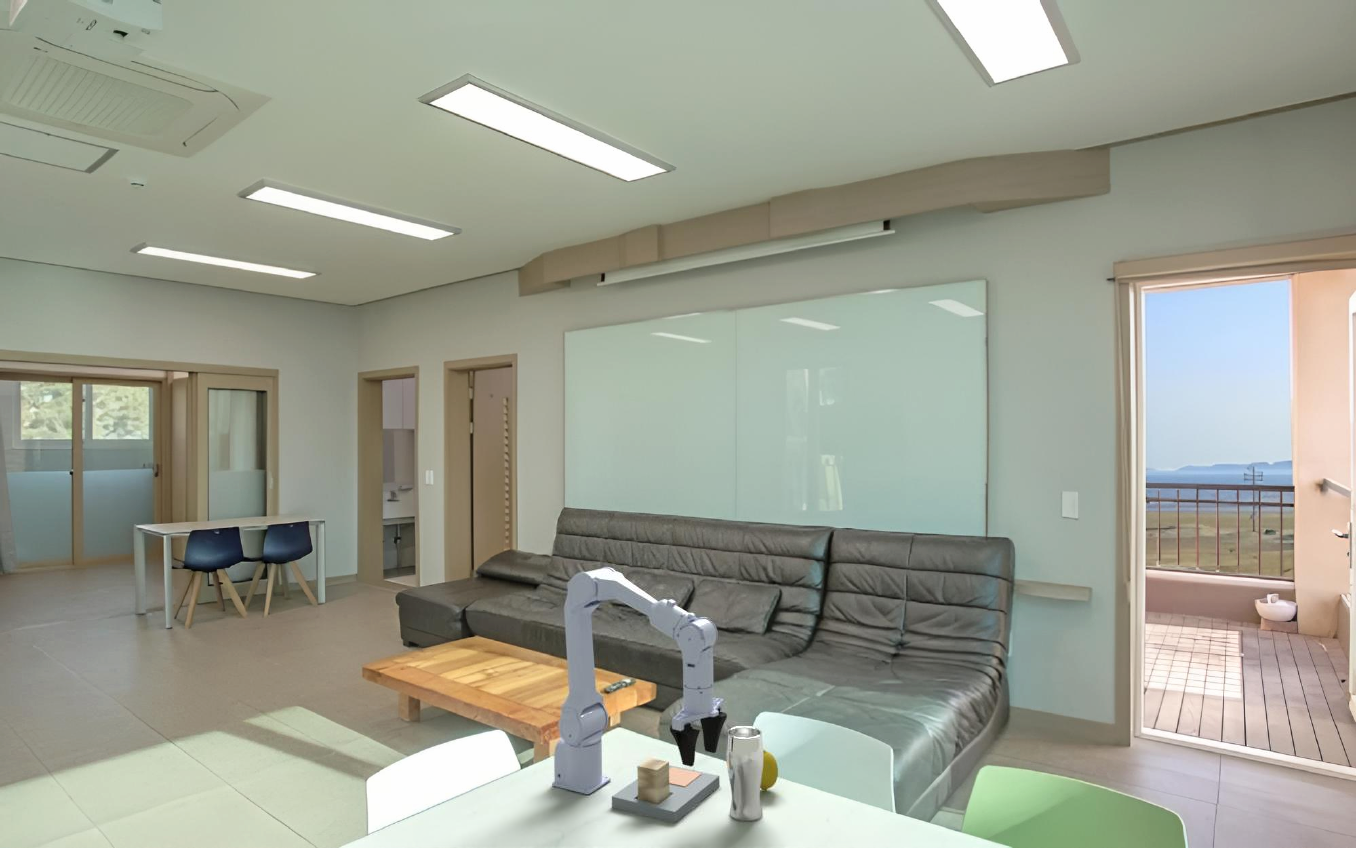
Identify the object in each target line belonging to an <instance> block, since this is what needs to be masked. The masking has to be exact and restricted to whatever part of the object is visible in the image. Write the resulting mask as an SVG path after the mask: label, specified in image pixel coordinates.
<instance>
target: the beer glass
mask: <svg viewBox="0 0 1356 848" xmlns="http://www.w3.org/2000/svg"><path fill="white" fill-rule="evenodd" d="M762 733H763V732H762V730H760V729H759V728H757V727H754V726H749V725H748V726H747V725H746V726H745V725H744V726H743V725H742V726H734V727H731V728H729V729H727V731H726V746H725V753H726V754H725V759H726V760H725V761H726V766H727V768H726V769H727V774H728V779H729V784H730V791H731V803H730V809H729V815H730V817H731V818H732V819H734V820H736V821H740V822H744V823H745V822H746V823H747V822H748V823H749V822H755V821H757V820H759V819H761V818H762V817H763V807H762V803H761V788H760V786H761V779H762V772H763V750H764V744H763V743H764V742H763V734H762Z"/></svg>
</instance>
